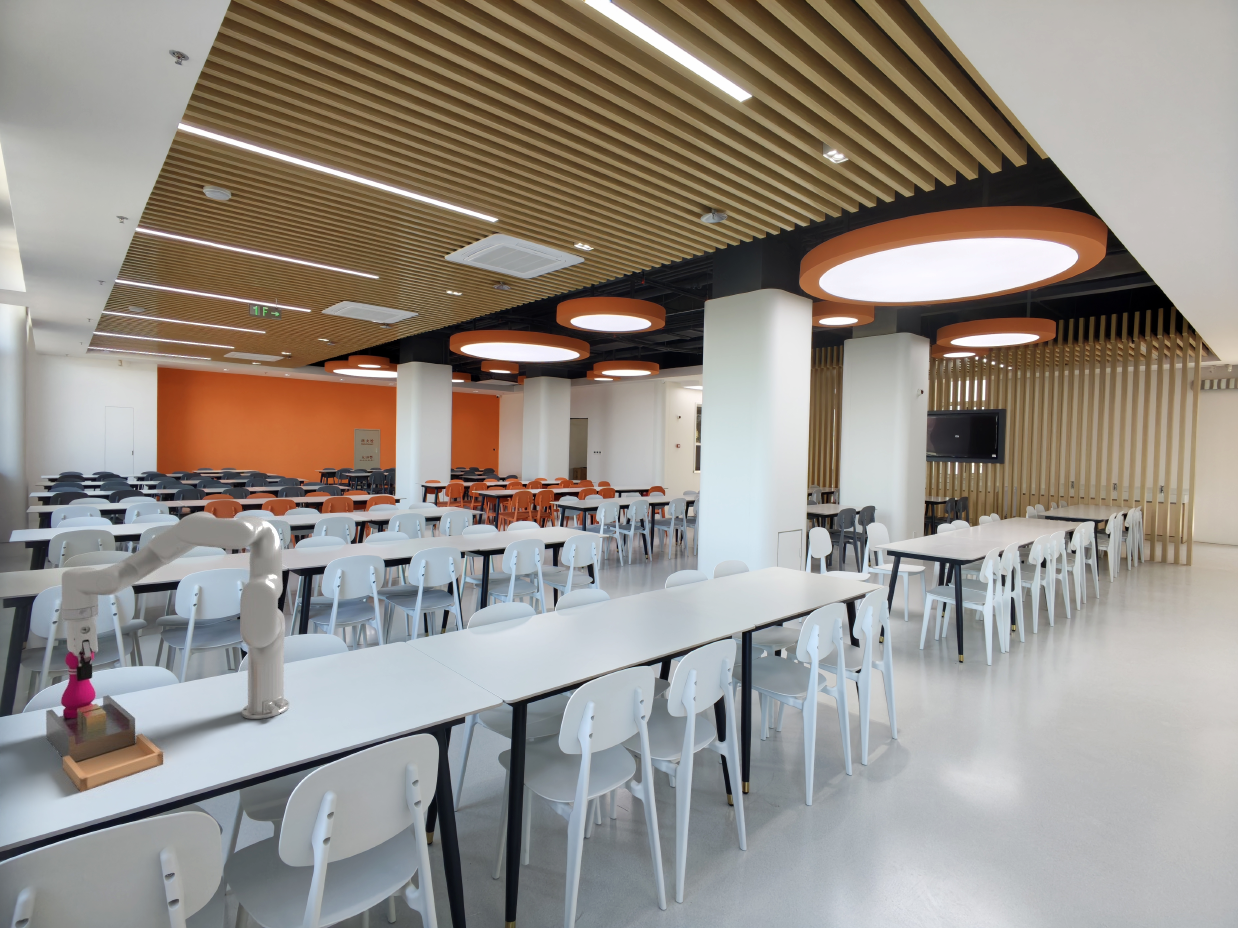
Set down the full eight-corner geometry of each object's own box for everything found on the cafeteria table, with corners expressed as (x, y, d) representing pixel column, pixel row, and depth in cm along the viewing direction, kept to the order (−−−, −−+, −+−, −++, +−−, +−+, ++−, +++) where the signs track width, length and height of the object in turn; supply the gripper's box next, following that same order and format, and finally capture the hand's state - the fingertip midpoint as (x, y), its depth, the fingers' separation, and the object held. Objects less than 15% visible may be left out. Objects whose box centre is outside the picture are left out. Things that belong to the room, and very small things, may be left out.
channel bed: (135, 745, 164) (135, 718, 163) (69, 766, 153) (69, 736, 153) (108, 720, 178) (108, 695, 178) (46, 737, 167) (46, 710, 167)
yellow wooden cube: (106, 727, 163) (106, 712, 163) (86, 732, 160) (86, 717, 160) (101, 722, 166) (101, 708, 165) (82, 728, 162) (82, 713, 162)
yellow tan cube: (100, 721, 166) (100, 707, 166) (81, 727, 163) (81, 712, 163) (96, 717, 169) (96, 703, 168) (77, 722, 165) (77, 708, 165)
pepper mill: (74, 721, 166) (76, 649, 165) (53, 716, 168) (55, 645, 167) (101, 709, 174) (103, 640, 173) (81, 705, 175) (83, 637, 174)
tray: (163, 763, 155) (163, 752, 154) (80, 791, 142) (80, 779, 142) (141, 744, 164) (141, 733, 164) (62, 768, 151) (62, 756, 151)
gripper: (106, 615, 168) (107, 680, 168) (89, 604, 178) (90, 666, 179) (70, 621, 162) (71, 688, 162) (54, 610, 172) (56, 673, 173)
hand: (81, 676), depth 170 cm, fingers closed on pepper mill, 5 cm apart
